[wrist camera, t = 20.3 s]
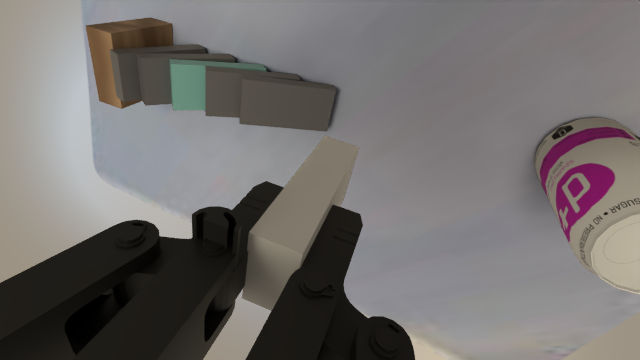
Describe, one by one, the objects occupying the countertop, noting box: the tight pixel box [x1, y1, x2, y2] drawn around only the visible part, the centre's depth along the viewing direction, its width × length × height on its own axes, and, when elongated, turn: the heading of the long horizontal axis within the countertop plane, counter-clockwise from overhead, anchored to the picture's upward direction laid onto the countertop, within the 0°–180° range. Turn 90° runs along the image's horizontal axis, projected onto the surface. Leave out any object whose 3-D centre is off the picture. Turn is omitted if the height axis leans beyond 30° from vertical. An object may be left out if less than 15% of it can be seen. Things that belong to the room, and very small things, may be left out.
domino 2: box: [137, 53, 235, 105], centre depth 38 cm, size 2×5×10 cm
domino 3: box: [169, 59, 266, 110], centre depth 38 cm, size 2×5×10 cm
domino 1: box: [110, 44, 206, 102], centre depth 38 cm, size 2×5×10 cm, turn 168°
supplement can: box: [534, 117, 640, 294], centre depth 27 cm, size 8×8×15 cm
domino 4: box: [205, 66, 300, 118], centre depth 38 cm, size 2×5×10 cm
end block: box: [86, 18, 173, 109], centre depth 39 cm, size 3×8×9 cm, turn 168°
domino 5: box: [240, 74, 336, 131], centre depth 37 cm, size 2×5×10 cm
